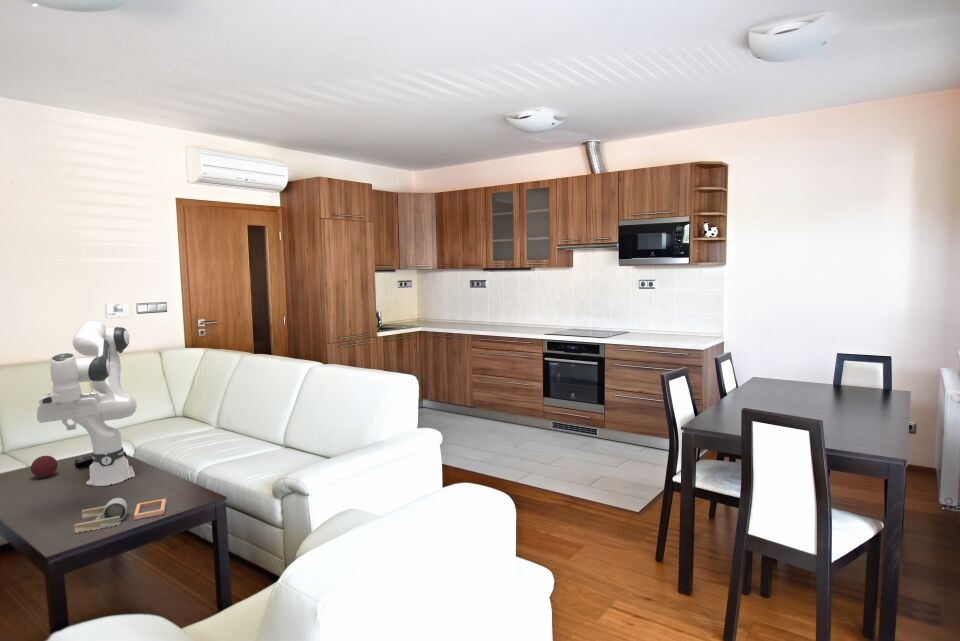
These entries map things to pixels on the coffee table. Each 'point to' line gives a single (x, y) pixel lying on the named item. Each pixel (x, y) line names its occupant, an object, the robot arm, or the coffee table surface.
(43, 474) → the decorative ball
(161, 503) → the frame
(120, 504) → the ceramic mug
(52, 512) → the coffee table surface
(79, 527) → the channel walls
